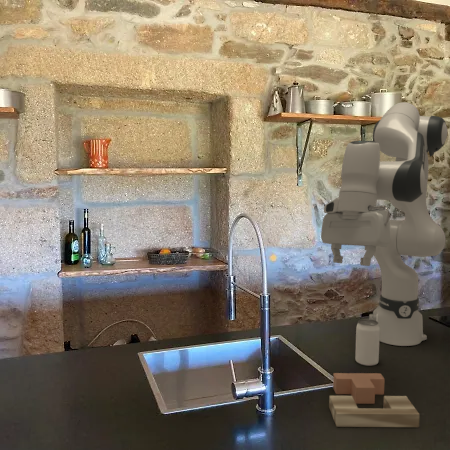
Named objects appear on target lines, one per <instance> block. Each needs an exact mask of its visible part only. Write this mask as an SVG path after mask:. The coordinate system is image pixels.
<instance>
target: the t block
mask: <svg viewBox="0 0 450 450" xmlns="http://www.w3.org/2000/svg"><path fill="white" fill-rule="evenodd" d="M332 382H333V384H332V385H333V386H332V387H333V390H334V393H335V395H350V396H352V397H353V399H354V401H355V403H356V405H358V404H363V405H366V404H368V405H369V404H371V405H372V404H373V405H375V401H376V398H375V397H376V395H385V378H384V376H383V375H382V373H377V372H375V373H373V372H372V373H371V372H370V373H369V372H368V373H367V372H365V373H364V372H361V373H360V372H356V373H354V372H349V373H347V372H343V373H342V372H340V373H339V372H333V380H332Z"/></svg>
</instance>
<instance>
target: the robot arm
mask: <svg viewBox="0 0 450 450" xmlns="http://www.w3.org/2000/svg"><path fill="white" fill-rule="evenodd" d="M447 138H448V126H447V124H446V120H445V119H444V118H443V117H441V116H438V115H430V116H426V115H420V111H419V109H418V107H416V106H415V105H414V104H412V103H410V102H406V101H403V102H398V103H396V104H394V105H392V106H390V107H389V109H387V111H386V112H385V113H384V114H383V115H382V117H381V118H380V119H379V120H378V121H377V122H376V123H375V124H374V127H373V130H372V140H353V141H351V142H349V143H347V145H346V147H345V150H344V153H343V154H344V155H343V160H342V165H341V172H340V174H341V175H340V176H341V177H340V178H341V186H340V188H339V191H338V193H339V194H338V197H336V198H335V199H333V200H332V201H330V202H328V203H326V204H324V207H323V213H325V215H324V216H323V218H322V222H321V223H322V224H321V229H320V230H321V231H320V233H321V234H320V239H321V241H322V243H323V244H329V245H330V249H331V253H332V255H333V258H332V261H333V264H342V263H343V259H344V256H342V255H341V250H342V245H343V246H358V247H359V246H362V247H363V246H364V251H365V253H364V255H363V257H360V262H359V264H360V265H361V266H365V267H370V266H371V262H372V259H373V257H374V258H375V260H376V262H377V264H378V266H379V269H380V273H381V274H380V275H381V277H380V278H381V294H380V296H379V299H378V301H379V302H378V306H377V307H376V308H375V309H374V310H373V312H372V313H370V314H369V315H368V319H371V320H375V321H377V322H378V325H379V328H380V335H379V342H381V343H383V344H387V345H393V346H399V347H400V346H401V347H407V346H408V347H409V346H416V345H419V344H421V342H422V341H425V340H426V341H427V340H428V338H427V335H426V334H424V332H423V330H424V328H423V327H424V326H423V325H424V324H423V322H424V321H423V314H422V313H421V312H420V311H419V309H420V308H419V307H420V306H419V305H420V300H419V297H418V296H419V295H418V294H419V293H418V291H419V275H418V273H417V271H416V270H415V269H414V268H412V267H411V266H409V265H407V264H406V263H405V262H404V261H403V259H402V256H408V257H416V258H417V257H419V258H422V257H423V258H426V257H436V256H439V254H441V253H442V251H443V249H444V248H445V245H446V234H445V232H444V230H443V228H442V227H441V226H440V225H439V224H438V223H437V222H435V220H434V219H433V218H432V216H431V214H430V213H429V209H428V207H427V190H428V189H427V187H428V182H429V181H428V180H429V157H432V156H434V154H435V153H437V152H438V151H440V150H441V149H442V148H443V147H444V145H445V143H446V140H447ZM381 153H382V154H384V155H385V156H388V157H392V158H395V160H394V161H390V160H389V161H388V160H387V161H386V160H385V161H381ZM428 153H429V155H428ZM379 200H381V201H389V202H390V204H391V205H392V206H393V207H394V208H396V209H397V210H399V211H401V212H402V213H404V220H397V219H390V210H389V208H387V207H386V205H377V202H378V201H379Z"/></svg>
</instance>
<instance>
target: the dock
mask: <svg viewBox="0 0 450 450" xmlns="http://www.w3.org/2000/svg"><path fill="white" fill-rule="evenodd" d="M328 401H329V403H328V407H329V411H330V413H331V416H332V419H333V421H334V423H335V427H336V428H338V427H340V428H344V427H345V428H348V427H349V428H350V427H351V428H353V427H354V428H356V427H357V428H420V414H421V413H419V412H418V410H417V408H415V406H414V405H413V403H412V402H411V401H410V399H409V398H408V396H407V395H384V396H383V408H382V407H381V408H374V407H373V408H367V407H366V408H360V407H358V406H357V405H358V404H356V403H355V401H354V399H353V397H352V395H329V399H328Z"/></svg>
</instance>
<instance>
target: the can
mask: <svg viewBox="0 0 450 450" xmlns="http://www.w3.org/2000/svg"><path fill="white" fill-rule="evenodd" d="M355 328H356V329H355V330H356V331H355V333H356V334H355V356H354V357H355V361H356V363H357V364H359V365H361V366H365V367H372V366H376V365H377V364H378V363H379V358H380V357H379V356H380V355H379V354H380V341H379V335H380V328H379V325H378V322H377V321H375V320H371V319H369V318H362V319H361V318H360V319H358V321H357V324H356V327H355Z"/></svg>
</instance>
